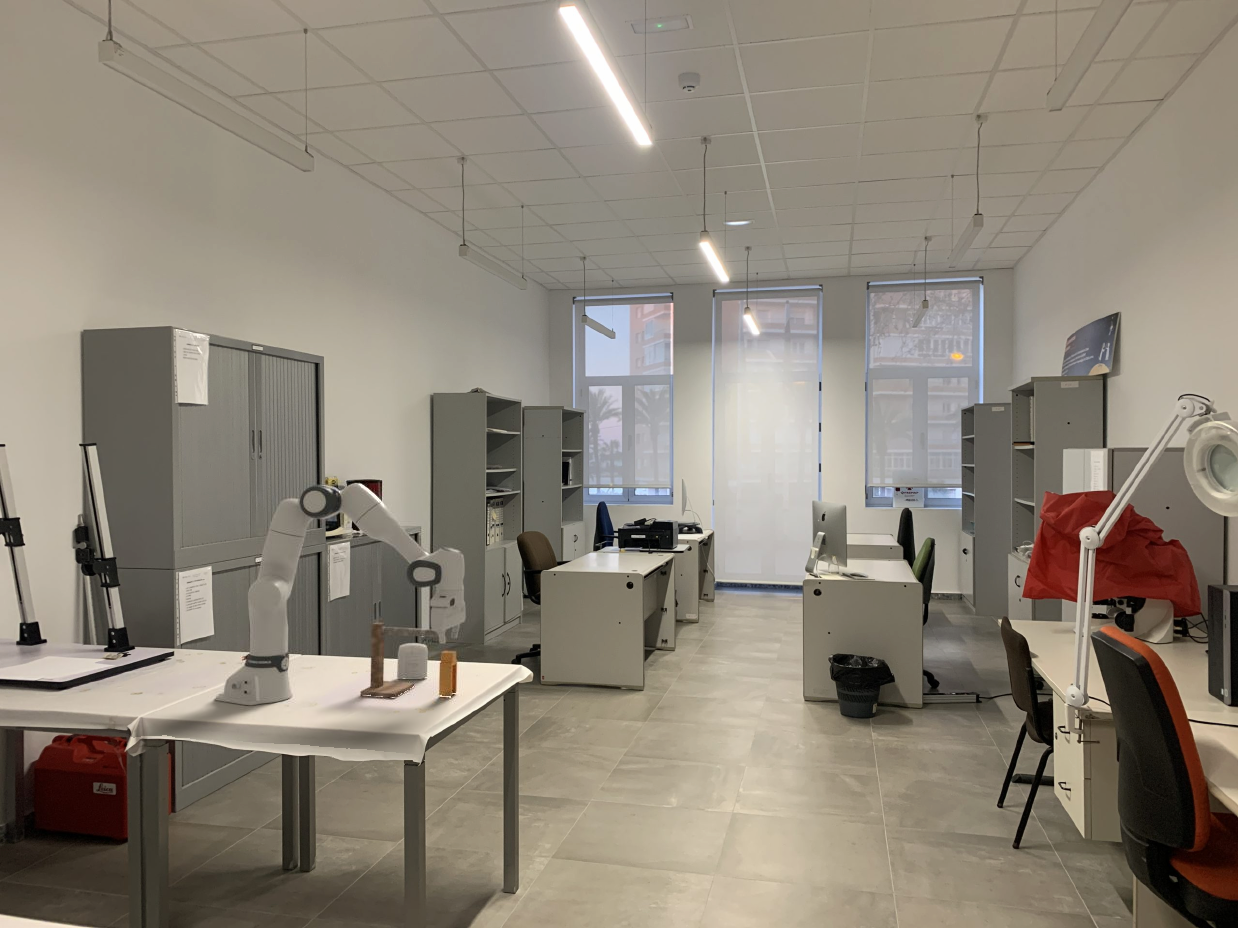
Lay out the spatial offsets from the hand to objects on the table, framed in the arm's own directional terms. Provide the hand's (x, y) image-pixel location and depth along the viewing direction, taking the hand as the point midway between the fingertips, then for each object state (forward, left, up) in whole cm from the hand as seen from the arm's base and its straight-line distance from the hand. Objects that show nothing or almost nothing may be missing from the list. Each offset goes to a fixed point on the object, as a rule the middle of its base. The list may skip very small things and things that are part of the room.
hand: (448, 640), depth 259 cm
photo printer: (-21, +18, -18) cm, 33 cm away
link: (0, 0, -18) cm, 18 cm away
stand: (-16, 0, -18) cm, 24 cm away
